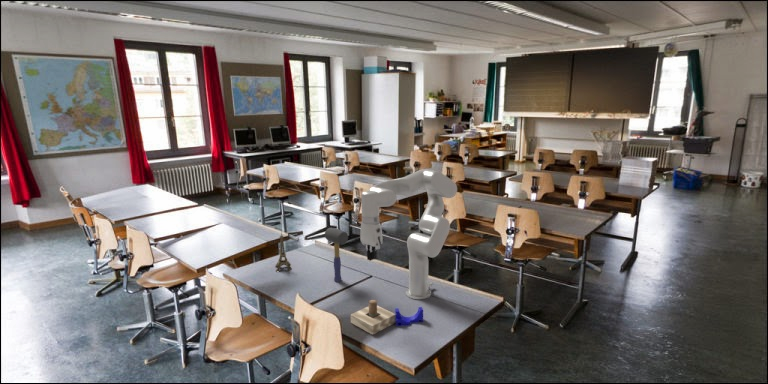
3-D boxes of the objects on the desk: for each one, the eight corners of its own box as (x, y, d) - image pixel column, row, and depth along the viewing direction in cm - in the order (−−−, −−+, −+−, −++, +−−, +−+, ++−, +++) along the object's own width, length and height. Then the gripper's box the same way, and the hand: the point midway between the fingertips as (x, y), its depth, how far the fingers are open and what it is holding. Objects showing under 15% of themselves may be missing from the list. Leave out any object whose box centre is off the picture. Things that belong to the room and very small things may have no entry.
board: (373, 311, 193) (373, 303, 192) (395, 322, 184) (395, 314, 183) (350, 322, 184) (350, 314, 183) (372, 334, 174) (372, 326, 173)
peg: (373, 319, 186) (373, 299, 184) (379, 322, 184) (378, 301, 182) (367, 322, 184) (366, 301, 182) (373, 325, 181) (372, 304, 179)
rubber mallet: (350, 283, 224) (349, 229, 218) (339, 287, 219) (338, 233, 213) (335, 277, 233) (334, 225, 227) (325, 281, 228) (323, 228, 221)
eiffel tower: (273, 267, 248) (271, 227, 243) (292, 265, 251) (289, 225, 246) (274, 274, 238) (272, 232, 233) (293, 271, 241) (291, 230, 236)
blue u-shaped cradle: (396, 326, 181) (396, 313, 180) (395, 321, 185) (395, 308, 184) (423, 324, 182) (423, 311, 181) (421, 319, 186) (421, 307, 185)
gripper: (388, 220, 178) (389, 261, 182) (365, 214, 188) (366, 253, 192) (376, 224, 173) (376, 266, 177) (352, 217, 183) (353, 257, 187)
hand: (371, 259), depth 184 cm, fingers closed
